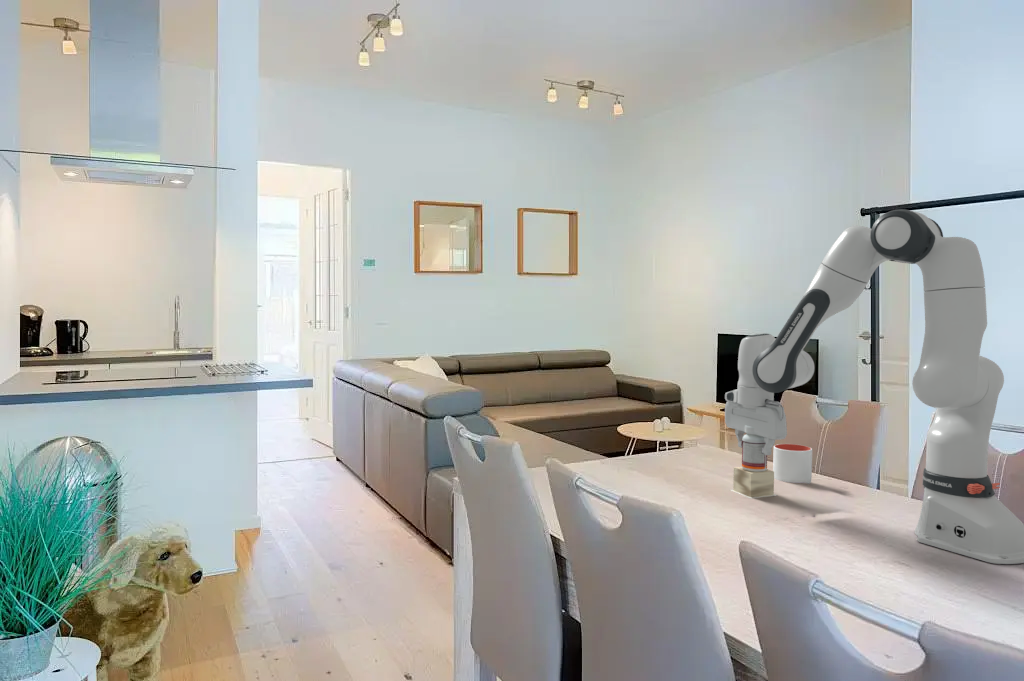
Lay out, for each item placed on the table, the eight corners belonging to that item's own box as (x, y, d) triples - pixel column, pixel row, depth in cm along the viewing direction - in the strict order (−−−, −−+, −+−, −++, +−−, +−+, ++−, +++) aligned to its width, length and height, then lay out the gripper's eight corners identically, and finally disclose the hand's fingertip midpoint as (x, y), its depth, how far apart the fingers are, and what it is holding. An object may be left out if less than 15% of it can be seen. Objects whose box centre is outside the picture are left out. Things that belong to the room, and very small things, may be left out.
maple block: (773, 494, 180) (774, 471, 180) (750, 497, 178) (751, 473, 178) (755, 488, 187) (756, 465, 186) (733, 490, 184) (733, 467, 184)
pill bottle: (750, 465, 186) (751, 422, 186) (771, 470, 181) (772, 426, 181) (736, 469, 182) (737, 425, 182) (758, 473, 178) (759, 428, 177)
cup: (817, 487, 192) (818, 451, 192) (780, 487, 193) (781, 451, 192) (803, 478, 202) (803, 443, 202) (767, 478, 203) (768, 443, 202)
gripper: (794, 402, 172) (792, 458, 173) (740, 392, 191) (739, 442, 192) (772, 403, 170) (771, 460, 171) (720, 392, 189) (720, 444, 190)
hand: (754, 450), depth 182 cm, fingers open, 8 cm apart
